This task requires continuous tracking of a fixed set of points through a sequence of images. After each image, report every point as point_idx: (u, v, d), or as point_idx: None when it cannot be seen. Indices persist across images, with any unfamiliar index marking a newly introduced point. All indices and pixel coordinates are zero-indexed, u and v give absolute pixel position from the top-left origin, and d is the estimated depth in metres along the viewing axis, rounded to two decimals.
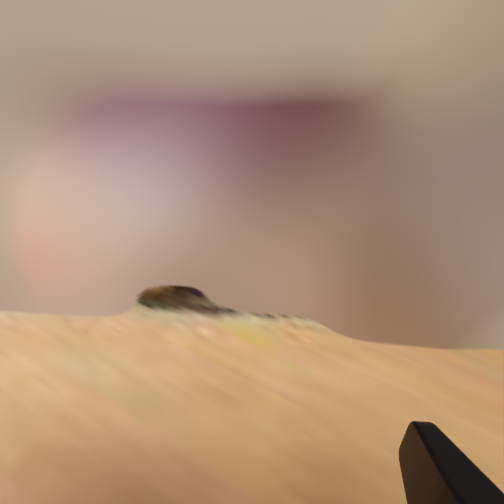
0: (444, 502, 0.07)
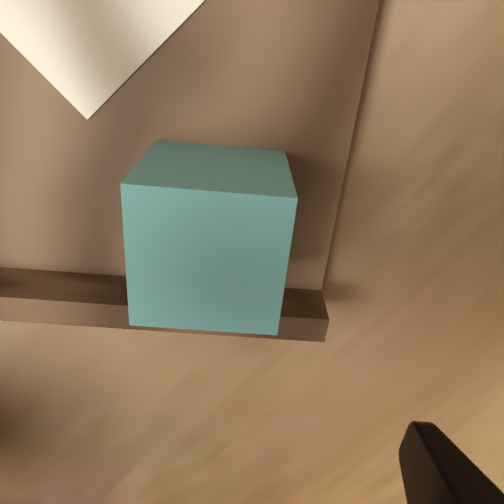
0: (444, 502, 0.07)
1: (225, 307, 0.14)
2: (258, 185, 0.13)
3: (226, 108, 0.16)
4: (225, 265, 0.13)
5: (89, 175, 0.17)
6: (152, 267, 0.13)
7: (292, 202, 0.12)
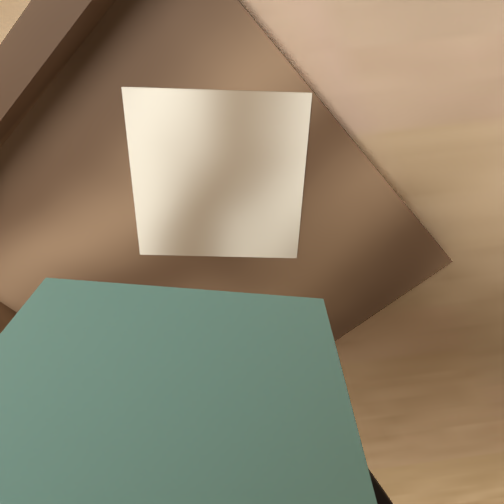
0: None
1: None
2: None
3: None
4: None
5: (107, 280, 0.19)
6: None
7: None
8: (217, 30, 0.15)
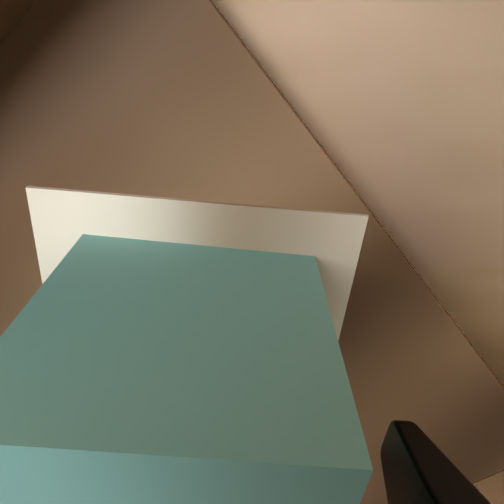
0: (421, 501, 0.07)
1: None
2: (274, 404, 0.05)
3: None
4: None
5: None
6: None
7: (358, 475, 0.05)
8: (205, 102, 0.08)
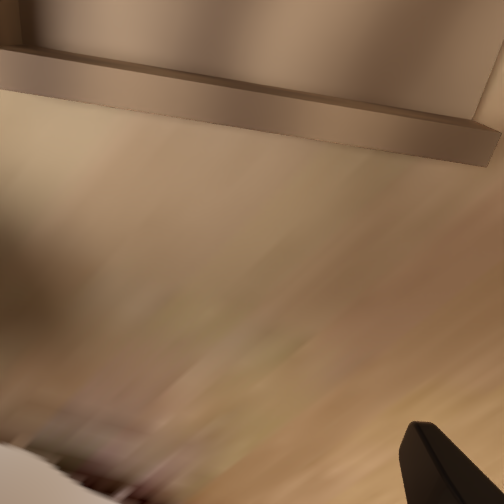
0: (444, 502, 0.07)
1: None
2: None
3: None
4: None
5: None
6: None
7: None
8: None
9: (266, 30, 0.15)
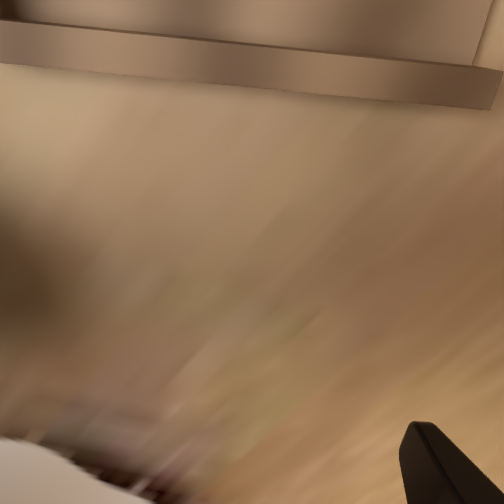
0: (444, 502, 0.07)
1: None
2: None
3: None
4: None
5: None
6: None
7: None
8: None
9: None
